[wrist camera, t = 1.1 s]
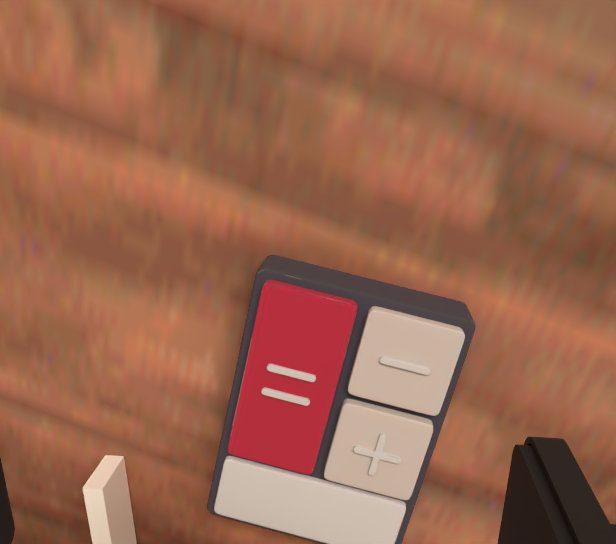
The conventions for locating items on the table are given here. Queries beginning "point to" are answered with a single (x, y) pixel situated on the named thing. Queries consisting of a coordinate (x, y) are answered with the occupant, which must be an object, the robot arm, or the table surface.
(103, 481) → the slot
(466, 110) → the table surface
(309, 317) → the calculator
